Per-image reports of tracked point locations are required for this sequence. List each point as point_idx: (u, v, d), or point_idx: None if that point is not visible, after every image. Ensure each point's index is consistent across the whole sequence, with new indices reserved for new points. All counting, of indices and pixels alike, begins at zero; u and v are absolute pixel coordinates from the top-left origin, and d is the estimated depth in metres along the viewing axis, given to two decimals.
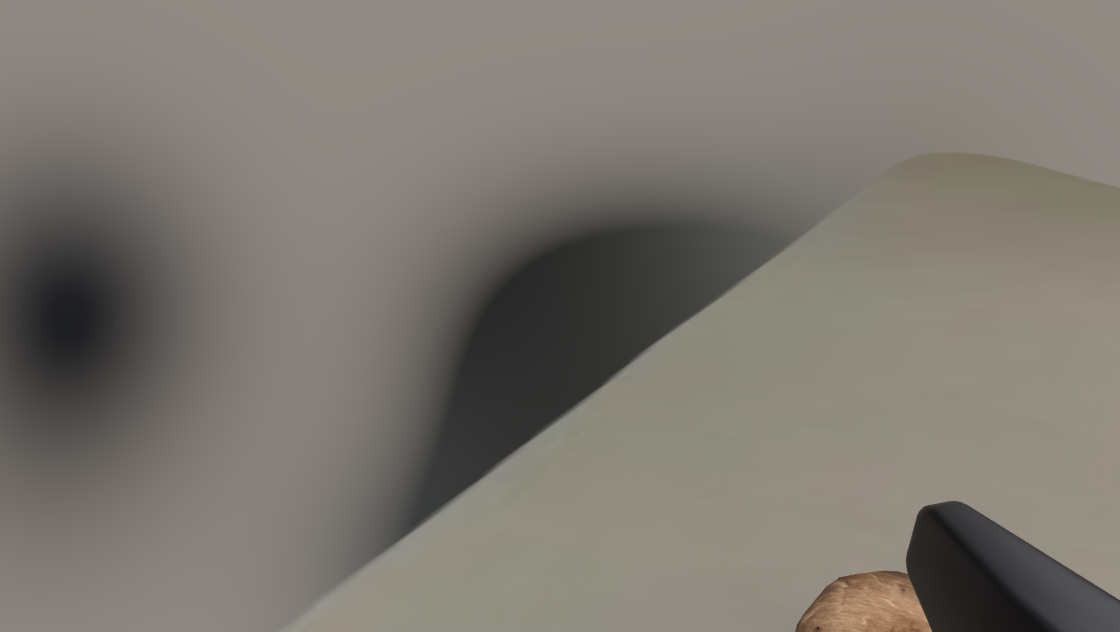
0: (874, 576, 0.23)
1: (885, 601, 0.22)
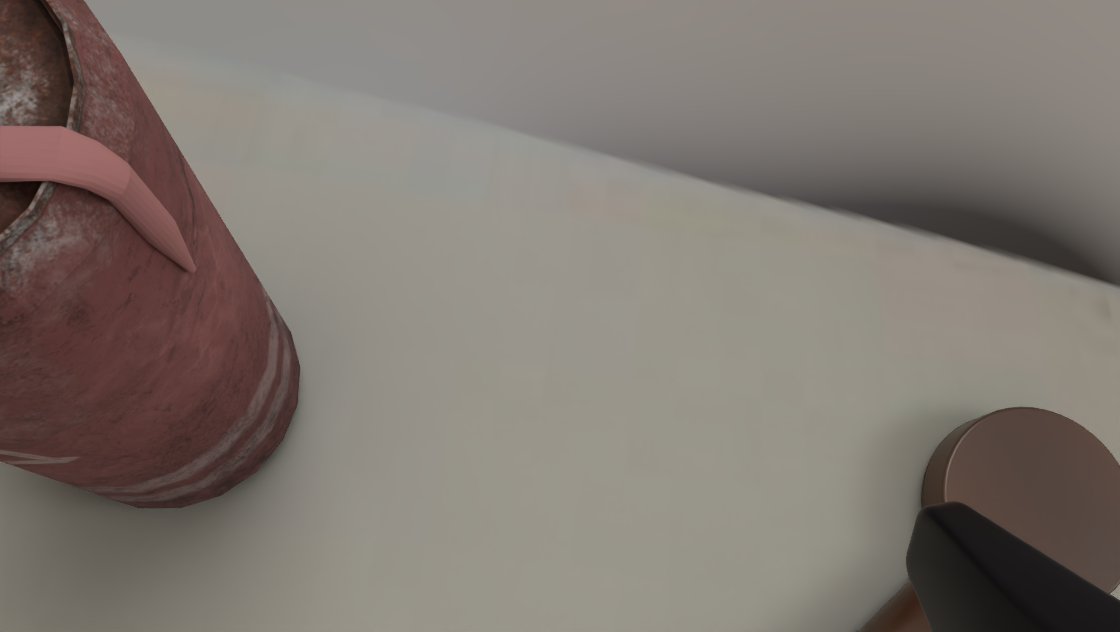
0: None
1: None
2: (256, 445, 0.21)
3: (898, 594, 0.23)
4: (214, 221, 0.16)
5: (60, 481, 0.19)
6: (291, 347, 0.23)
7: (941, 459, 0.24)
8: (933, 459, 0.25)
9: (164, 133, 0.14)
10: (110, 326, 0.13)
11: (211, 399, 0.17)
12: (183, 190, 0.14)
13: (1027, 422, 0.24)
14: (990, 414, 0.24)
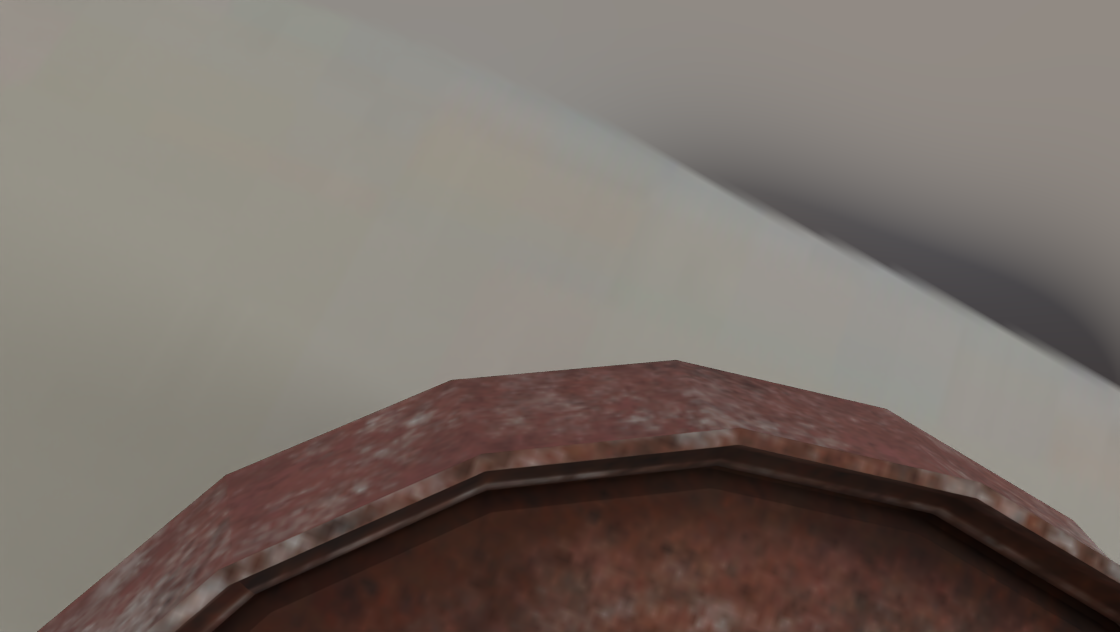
0: None
1: None
2: None
3: None
4: None
5: None
6: None
7: None
8: None
9: None
10: None
11: None
12: None
13: None
14: None
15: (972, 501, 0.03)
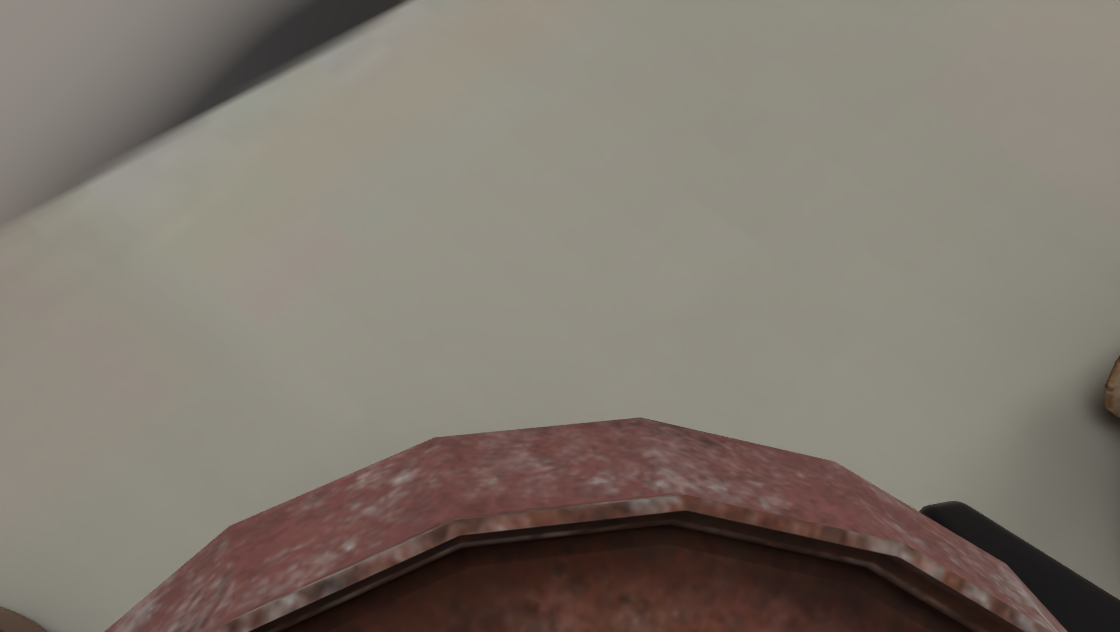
0: None
1: None
2: None
3: None
4: None
5: None
6: None
7: None
8: None
9: None
10: None
11: None
12: None
13: None
14: None
15: (897, 558, 0.04)
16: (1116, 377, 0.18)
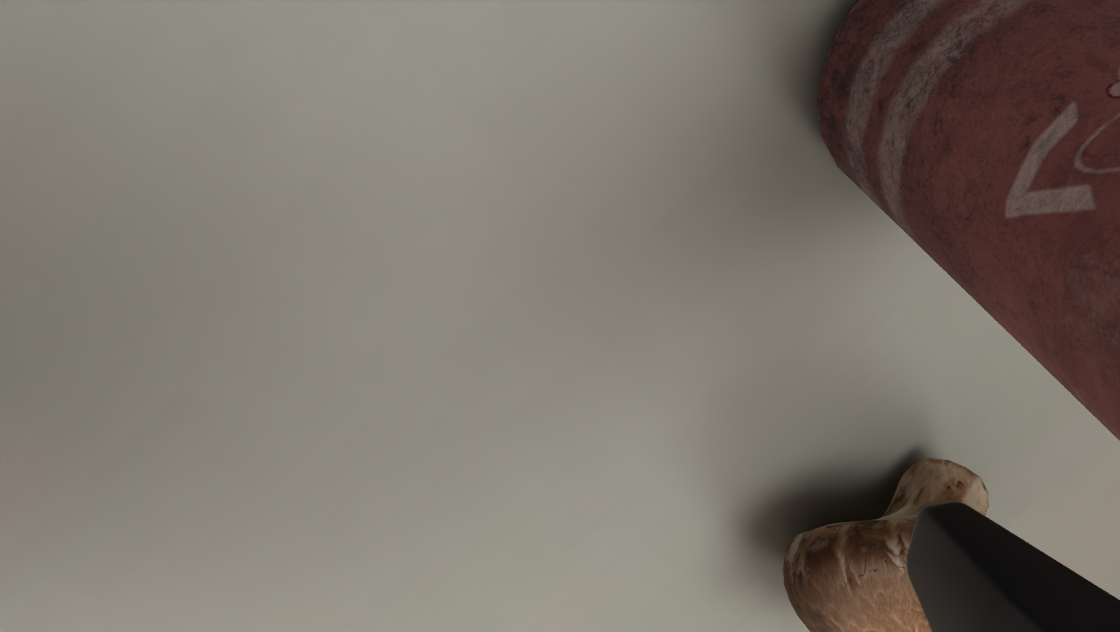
0: None
1: None
2: (858, 178, 0.21)
3: None
4: None
5: (945, 35, 0.17)
6: None
7: None
8: None
9: None
10: None
11: (968, 286, 0.17)
12: None
13: None
14: None
15: None
16: (955, 467, 0.28)
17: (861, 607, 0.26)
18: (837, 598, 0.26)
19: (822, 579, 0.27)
